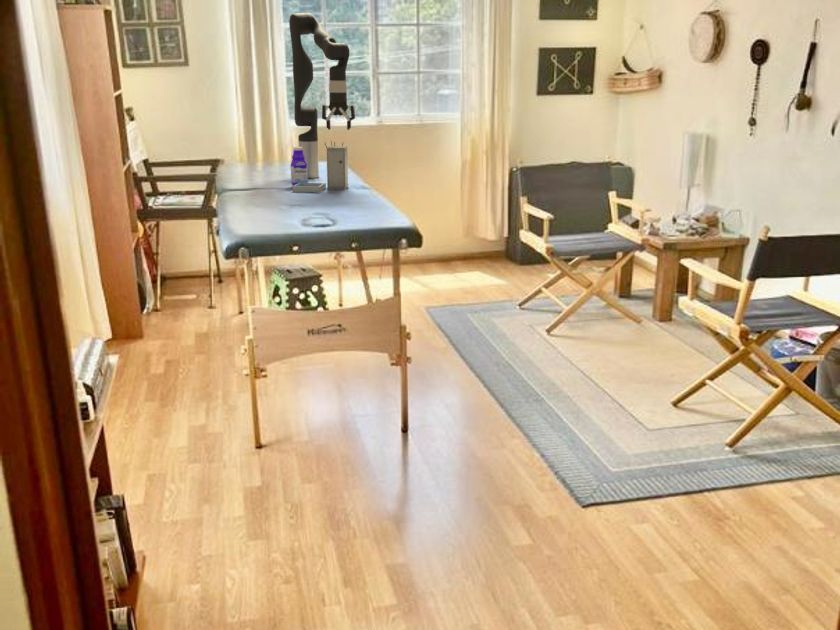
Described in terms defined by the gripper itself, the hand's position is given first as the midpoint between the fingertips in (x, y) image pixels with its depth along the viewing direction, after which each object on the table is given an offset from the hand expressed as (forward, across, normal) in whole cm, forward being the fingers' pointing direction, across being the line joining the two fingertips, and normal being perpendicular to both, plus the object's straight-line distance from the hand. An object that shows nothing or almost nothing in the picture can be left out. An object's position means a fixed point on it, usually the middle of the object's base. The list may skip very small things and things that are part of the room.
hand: (338, 129), depth 355 cm
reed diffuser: (+25, +2, -3) cm, 26 cm away
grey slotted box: (+25, 0, +5) cm, 26 cm away
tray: (+25, +11, +13) cm, 30 cm away
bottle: (+25, +18, +2) cm, 31 cm away
